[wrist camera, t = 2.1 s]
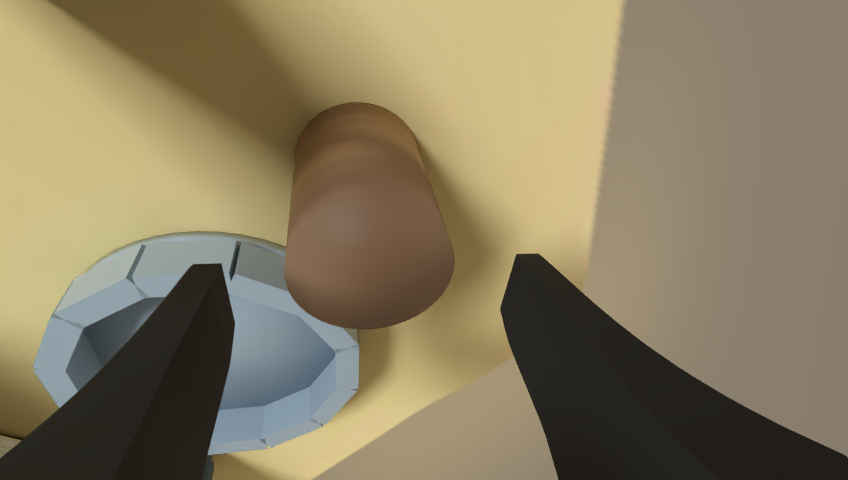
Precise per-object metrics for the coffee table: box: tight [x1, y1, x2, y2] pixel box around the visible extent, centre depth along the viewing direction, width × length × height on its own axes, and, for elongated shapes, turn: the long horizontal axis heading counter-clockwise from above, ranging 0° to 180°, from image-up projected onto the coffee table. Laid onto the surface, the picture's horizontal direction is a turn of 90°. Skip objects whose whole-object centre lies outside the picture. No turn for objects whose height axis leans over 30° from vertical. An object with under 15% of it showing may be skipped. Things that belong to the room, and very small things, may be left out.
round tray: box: [33, 231, 359, 455], centre depth 20 cm, size 12×12×2 cm
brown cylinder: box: [284, 102, 454, 329], centre depth 14 cm, size 4×4×6 cm
